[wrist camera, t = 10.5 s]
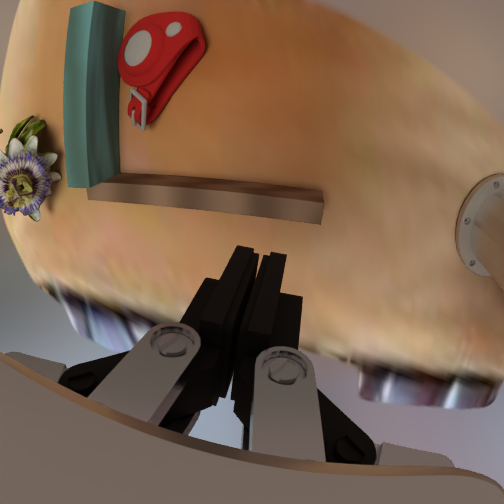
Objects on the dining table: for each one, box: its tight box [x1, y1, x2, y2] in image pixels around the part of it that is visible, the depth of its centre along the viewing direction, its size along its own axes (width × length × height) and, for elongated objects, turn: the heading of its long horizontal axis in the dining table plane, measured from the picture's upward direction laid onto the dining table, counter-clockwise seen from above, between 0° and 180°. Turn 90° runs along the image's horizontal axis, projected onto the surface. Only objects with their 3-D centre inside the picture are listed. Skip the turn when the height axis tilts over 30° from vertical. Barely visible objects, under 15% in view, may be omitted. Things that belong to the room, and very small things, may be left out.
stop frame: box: [63, 1, 324, 225], centre depth 25 cm, size 25×21×6 cm
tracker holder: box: [118, 12, 206, 131], centre depth 25 cm, size 12×4×10 cm
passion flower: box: [0, 116, 61, 221], centre depth 30 cm, size 11×11×12 cm
